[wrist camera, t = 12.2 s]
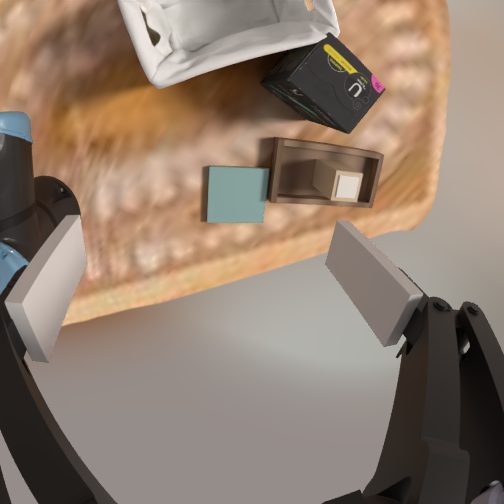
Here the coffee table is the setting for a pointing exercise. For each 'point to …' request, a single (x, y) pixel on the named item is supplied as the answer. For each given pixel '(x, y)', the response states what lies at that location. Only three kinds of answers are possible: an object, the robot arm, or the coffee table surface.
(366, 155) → the walnut bin
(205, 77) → the coffee table surface
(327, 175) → the kraft box
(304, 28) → the storage basket
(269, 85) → the tampon box
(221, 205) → the teal pad
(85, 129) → the coffee table surface
